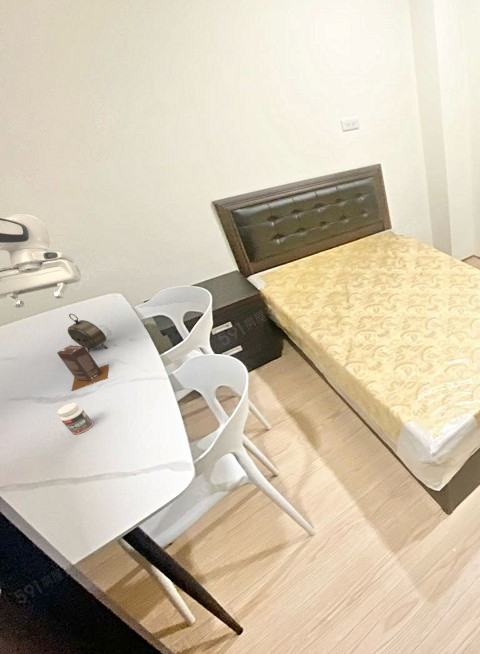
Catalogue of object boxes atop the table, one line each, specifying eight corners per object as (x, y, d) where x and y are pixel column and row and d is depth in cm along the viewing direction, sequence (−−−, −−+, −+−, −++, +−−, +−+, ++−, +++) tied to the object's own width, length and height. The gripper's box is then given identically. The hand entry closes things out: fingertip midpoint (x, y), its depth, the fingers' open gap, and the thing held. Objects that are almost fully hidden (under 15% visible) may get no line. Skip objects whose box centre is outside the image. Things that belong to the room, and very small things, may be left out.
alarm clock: (113, 346, 151) (90, 311, 143) (98, 355, 146) (73, 319, 138) (92, 342, 153) (68, 308, 145) (77, 351, 149) (51, 316, 141)
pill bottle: (72, 437, 114) (54, 417, 110) (72, 427, 117) (55, 408, 113) (93, 428, 117) (77, 408, 113) (93, 418, 120) (78, 399, 116)
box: (104, 372, 137) (84, 345, 131) (90, 382, 134) (70, 354, 128) (89, 371, 138) (69, 344, 132) (76, 380, 135) (54, 353, 129)
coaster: (72, 390, 131) (71, 390, 131) (75, 376, 137) (74, 375, 137) (107, 378, 135) (106, 377, 135) (108, 364, 142) (108, 363, 142)
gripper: (-22, 267, 119) (-16, 310, 117) (67, 251, 128) (75, 289, 125) (-5, 274, 125) (1, 315, 122) (80, 258, 133) (87, 295, 131)
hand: (39, 302), depth 124 cm, fingers open, 8 cm apart
